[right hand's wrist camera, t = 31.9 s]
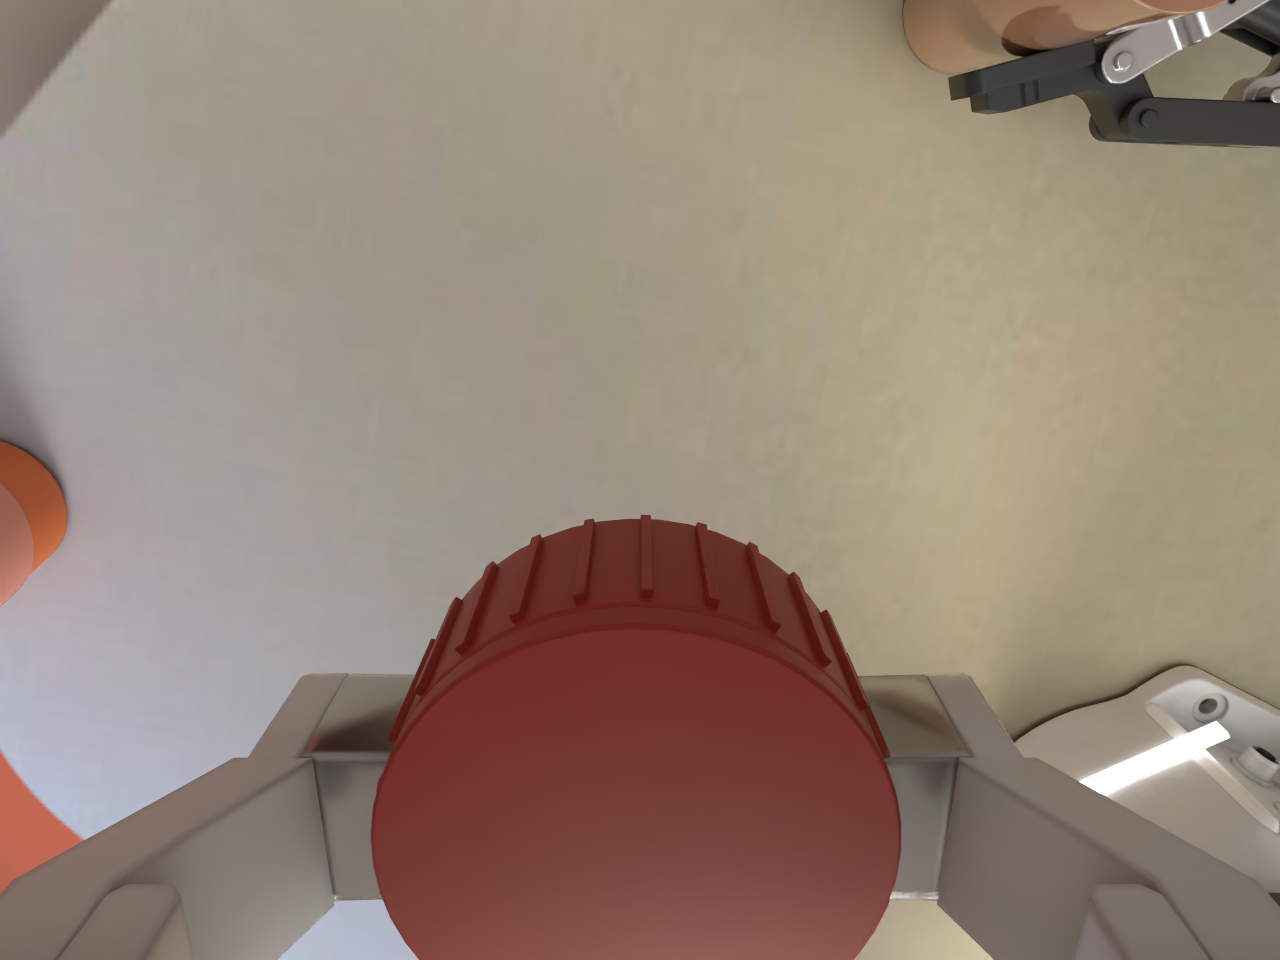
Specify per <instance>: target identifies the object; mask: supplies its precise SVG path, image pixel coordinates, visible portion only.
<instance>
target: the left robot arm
mask: <svg viewBox="0 0 1280 960" xmlns="http://www.w3.org/2000/svg"><path fill="white" fill-rule="evenodd" d="M1218 31H1219V32H1221V33H1223V34H1225V35H1227V36H1230V37H1232V38H1234V39H1236V40H1238V41H1240V42H1242V43H1244V44H1246V45H1248V46H1250V47H1252V48H1254V49H1257V50H1259V51H1261V52H1263V53H1265V54H1267V55H1269V56H1271V57H1272V59H1271V62H1270V64H1269V65H1268V67H1267V68H1266V69H1265V70H1264V71H1263V72H1262V73H1261V74H1259V75H1257V76H1255V77H1252V78H1244V79H1241V80H1239V81H1237V82H1236V83H1234V84H1233V85H1232V86H1231V88H1230V89H1229V90H1228V92H1227V94H1226V95H1225V96H1224V97H1223V99H1222V100H1205V99H1183V98H1160V97H1153V94H1152V92H1151V90H1150V88H1149V86H1148V83H1147V81H1146V79H1145V77H1144V74H1143V72H1145V71H1147V70H1148V69H1150V68H1152V67H1153V66H1155V65H1157V64H1158V63H1160V62H1162V61H1163V60H1165V59H1167V58H1168V57H1170V56H1172V55H1173V54H1175V53H1177V52H1178V51H1180V50H1182V49H1184V48H1186V47H1188V46H1191V45H1193V44H1196V43H1198V42H1200V41H1202V40H1204V39H1206V38H1208V37H1210V36H1212V35H1213V34H1215V33H1217V32H1218ZM948 79H949V87H950V95H951V100H957V99H963V98H968V97H970V101H971V110H972V112H976V113H983V114H994V113H1002V112H1008V111H1011V110H1015V109H1019V108H1022V107H1026V106H1030V105H1033V104H1037V103H1041V102H1045V101H1048V100H1052V99H1056V98H1059V97H1063V96H1067V95H1070V94H1074V95H1077V96H1078V97H1080V98H1081V99H1082V100H1083V101H1084V102H1085V104H1086V105H1087V107H1088V110H1089V112H1090V114H1091V117H1090V121H1089V129H1090V132H1091V134H1092V136H1093V137H1094V138H1095V139H1097V140H1099V141H1105V142H1128V143H1150V144H1173V145H1196V146H1219V147H1242V148H1266V147H1280V0H1228V1H1226V2H1225V3H1223V4H1221V5H1218V6H1216V7H1214V8H1211V9H1208V10H1205V11H1201V12H1198V13H1194V14H1190V15H1186V16H1183V17H1179V18H1175V19H1171V20H1167V21H1163V22H1159V23H1155V24H1152V25H1148V26H1144V27H1140V28H1136V29H1132V30H1128V31H1124V32H1120V33H1117V34H1113V35H1109V36H1105V37H1101V38H1098V39H1096V40H1095V41H1094V39H1093V40H1089V41H1086V42H1082V43H1078V44H1074V45H1070V46H1066V47H1062V48H1057V49H1053V50H1049V51H1045V52H1041V53H1037V54H1033V55H1029V56H1026V57H1022V58H1018V59H1015V60H1011V61H1007V62H1004V63H1000V64H997V65H993V66H989V67H986V68H982V69H978V70H975V71H971V72H968V73H964V74H960V75H957V76H953V77H950V78H948Z"/></svg>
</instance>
